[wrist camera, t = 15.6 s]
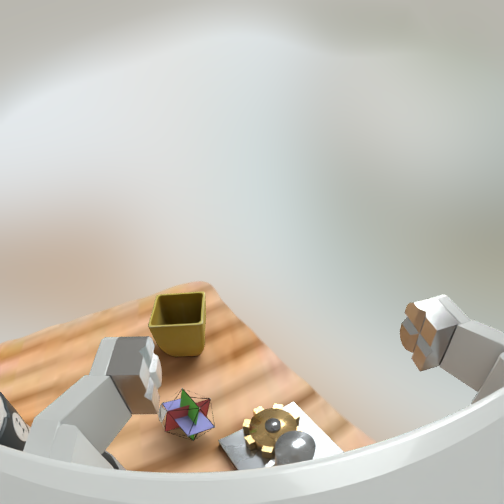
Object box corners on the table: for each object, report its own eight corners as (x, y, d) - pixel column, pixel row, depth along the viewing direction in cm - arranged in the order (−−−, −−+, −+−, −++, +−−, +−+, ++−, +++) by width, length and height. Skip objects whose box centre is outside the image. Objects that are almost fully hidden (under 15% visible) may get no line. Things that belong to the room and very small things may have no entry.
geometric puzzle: (206, 386, 42) (168, 374, 37) (235, 415, 37) (197, 407, 32) (180, 420, 41) (140, 412, 35) (206, 451, 36) (165, 448, 31)
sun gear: (264, 471, 31) (263, 460, 29) (234, 431, 37) (231, 417, 35) (312, 443, 34) (316, 429, 33) (280, 408, 40) (280, 392, 39)
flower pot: (210, 363, 49) (202, 323, 45) (160, 365, 49) (147, 326, 45) (211, 330, 57) (205, 290, 53) (166, 332, 57) (156, 294, 52)
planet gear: (293, 518, 24) (301, 493, 19) (248, 486, 28) (239, 450, 23) (331, 478, 28) (348, 439, 23) (286, 450, 32) (289, 404, 27)
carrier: (293, 540, 22) (295, 535, 20) (219, 444, 35) (215, 431, 34) (372, 484, 27) (380, 474, 26) (293, 406, 41) (294, 391, 39)
